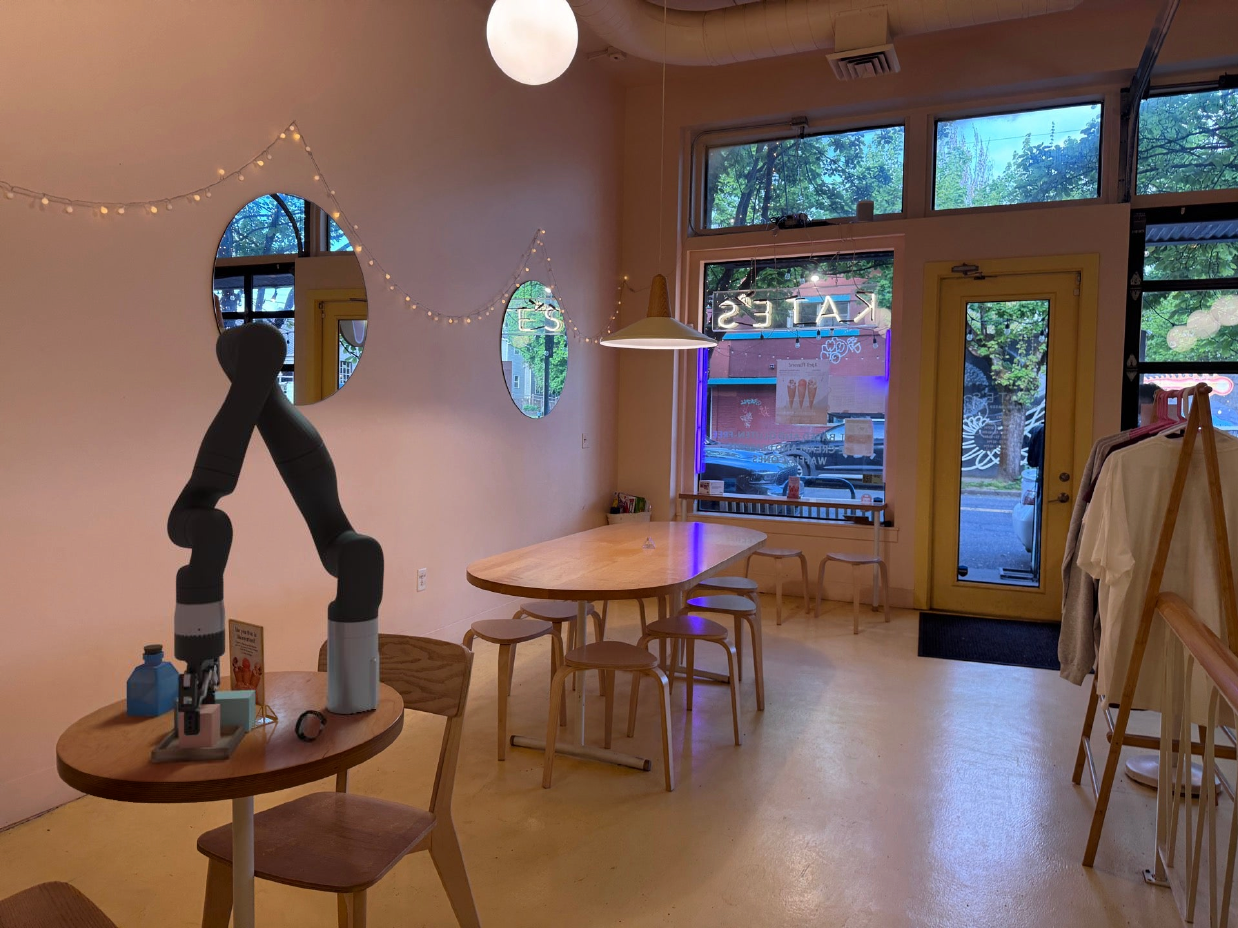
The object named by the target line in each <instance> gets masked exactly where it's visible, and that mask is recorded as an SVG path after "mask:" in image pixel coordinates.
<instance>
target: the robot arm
mask: <svg viewBox="0 0 1238 928" xmlns="http://www.w3.org/2000/svg"><path fill="white" fill-rule="evenodd" d="M215 354H216V358H217V361H218V364H219V366H220V367H221V369H222V370H223V372H224V374H225V375H226V377H227V379H228V380H229V382H230V383H231V384H230V387H229V390H228V392H227V395H226V397H225V398H224V400H223V403H222V404H221V407H220V408H219V410H218V411H217V413H216V414H215V416H214V418H213V420H212V422H211V423H210V424H209V426H208V428H207V430H206V432H205V433H204V436H203V438H202V440H201V443H200V446H199V448H198V453H197V455H196V458H195V462H194V465H193V468H192V472H191V475H190V478H189V480H188V481H187V482H186V484H185V486H184V487H183V488H182V490H181V491H180V494H179V495H178V497H177V499H176V500H175V502H174V504H173V506H172V508H171V510H170V512H169V515H168V517H167V523H166V525H167V526H166V530H167V531H166V532H167V535H168V538H169V540H170V541H171V542H172V543H173V544H174V545H175V546H176V547H179V548H182V549H189V550H191V552H190V553H191V555H190V558H189V561H188V562H189V563H188V564H185V565H183V566H181V567H179V568H178V570H177V571H176V576H175V607H174V608H175V609H174V613H173V614H174V616H173V639H174V643H173V647H174V648H173V655H174V658H175V660H177V661H179V662H185V663H186V668H185V670H184V671H183V673H179V677H178V679H179V685H178V712H184V734H185V735H197V734H198V733H199V732H200V709H201V705H207V704H215V694H214V693H216V692H217V691H218V687H220V685H221V664H220V663H221V661H220V659H221V657H222V656H223V655H225V653H226V609H225V608H226V607H225V602H224V601H225V600H224V597H225V596H224V594H225V593H224V587H225V586H224V585H225V584H224V574H225V570H226V567H227V564H228V562H229V561H228V560H229V557H230V552H231V549H232V545H233V538H234V529H233V523H232V520H231V518H230V516H229V515H228V514H227V512H225V511H224V510H223V509H220V508H217V507H216V506H217V504H218V503H219V501H220V499H222V498H223V497H226V496H229V495H231V494H233V493H234V492H235V490H236V489H237V488H236V487H237V484H238V481H239V478H240V475H241V471H242V468H243V465H244V461H245V458H246V454H247V451H248V448H249V445H250V441H251V439H252V435H253V433H254V430H255V428H257V430H258V433H259V434H260V436H261V438H262V440H263V442H264V444H265V446H266V448H267V449H268V452H269V454H270V456H271V459H272V461H273V463H274V465H275V467H276V468H277V471H278V473H279V475H280V477H281V479H282V480H283V482H284V484H285V485H286V488H287V489H288V491H289V493H290V496H291V497H292V499H293V501H294V503H295V505H296V506H297V509H298V510H299V512H300V514H301V515H302V518H303V519H304V521H305V523H306V524H307V527H308V530H309V533H310V535H311V537H312V540H313V543H314V546H315V549H316V552H317V555H318V557H319V560H320V562H321V565H322V567H323V569H324V570H325V571H326V572H327V573H328V574H329V575H330V576H332V577H333V578H335V579H336V580H337V583H336V596H335V599H334V600H332V601H331V602H329V603H328V605H327V639H326V640H327V641H326V643H327V644H326V645H327V648H326V649H327V651H326V653H327V655H326V656H327V660H326V662H327V663H326V664H327V666H326V668H327V670H326V671H327V672H326V676H327V677H326V682H327V683H326V690H327V691H326V703H327V705H326V709H327V711H329V712H331V713H335V714H340V715H341V714H343V715H344V714H345V715H350V714H351V713H353V714H356V713H355V712H361V713H363V712H362V711H365V710H369V711H372V710H371V709H376V710H377V708H378V705H377V704H379V701H378V700H380V652H379V608H380V606H381V604H382V600H383V595H384V580H385V579H384V578H385V556H384V551H383V547H382V545H381V543H380V542H379V541H378V540H377V539H376V538H373V537H372V536H370V535H368V534H367V535H366V534H361V533H358V532H357V531H356V530H355V529H354V527H353V526H352V524H351V522H350V521H349V519H348V517H347V515H346V513H345V511H344V509H343V507H342V504H341V502H340V501H341V500H340V498H339V490H338V478H337V477H338V476H337V471H336V467H335V464H334V461H333V458H332V456H331V455H330V453H329V450H328V448H327V446H326V444H325V442H324V440H323V438H322V437H321V435H320V433H319V431H318V430H317V428H316V427H315V425H313V424H312V422H311V421H310V420H309V419H308V418H307V417H306V416H305V415H304V414H303V413H302V412H301V411H300V410H299V409H298V407H296V406H295V405H294V404H293V402H292V401H290V399H289V398H288V397H287V395H286V394H285V392H284V391H283V389H282V387H281V384H280V383H279V381H278V376H279V375H280V372H281V370H282V368H283V365H284V364H285V361H286V358H287V355H288V345H287V340H286V338H285V336H284V334H283V333H282V331H281V330H280V329H279V328H278V327H277V326H275V325H273V324H272V323H269V322H266V321H252V322H247V323H244V324H239V325H236V326H232V327H228V328H226V329H225V330H224V331H222V332H221V333H220V334H219V335H218V338H217V340H216V344H215ZM189 699H192V704H188V702H189ZM376 707H377V708H376ZM365 712H366V711H365Z"/></svg>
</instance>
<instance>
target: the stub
mask: <svg viewBox="0 0 1238 928" xmlns="http://www.w3.org/2000/svg"><path fill="white" fill-rule="evenodd" d="M219 740H220V704H207V705H201V709H200V732H199V733H198V734H197V735H185V734H184V712H181V713H180V714H179V749H182V748H202V747H214V746H215V745H216V744H217V743H218V741H219Z"/></svg>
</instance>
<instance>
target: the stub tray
mask: <svg viewBox="0 0 1238 928" xmlns="http://www.w3.org/2000/svg"><path fill="white" fill-rule="evenodd" d="M245 736H246V732H245V725H234V726H220V740H219V741H218V743H217V744H216V745H215V746H214V747H202V748H182V749H179V728H174V727H173V728H172V729H171V730H170V731H169V732H168V734H166V735H165V736H164V738H162V740H161V741H160V742H159V743H158V744H157V745H156V746H155V747H154V748H153V749H152V750H151V752H150V754H151V756H150V757H151V761H150V762H151V764H152V763H155V764H156V763H174V762H191V761H192V762H193V761H195V762H196V761H210V760H211V761H213V760H215V761H216V760H229V759H230V758H231V756H232V755H233V754H234V752H235V750H236V749H237V748H238V746H239V744H240V743H241V742H242V740H243V739H244V738H245Z"/></svg>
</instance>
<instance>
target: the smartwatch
mask: <svg viewBox="0 0 1238 928" xmlns="http://www.w3.org/2000/svg"><path fill="white" fill-rule="evenodd" d="M308 715H312V716H313V715H314V716H315V717H317V718H318V719H319V720H320V725H321V726H320V727H319V730H318V734H317V735H316V736H315V737H308V736H307V735H306V734H305V733H304V732H305V730H306V726H307V724H308V719H309V716H308ZM327 719H328V718H327V717H326V716H325V715H324V714H323V713H322V712H320V711H318V710H313V709H308V710H306V711H304V712H302V713H300V715H299V717H298V718H297V721H296V723H295V727H294V732H295V735H296V737H297V738H298V739H299V740H301V741H302V742H306V743H312V742H313V741H315V740H316V739H317V738H318V737H320V735H321V733H322V732H323V729H324V728H325V726H326V725H327V721H328V720H327Z"/></svg>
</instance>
